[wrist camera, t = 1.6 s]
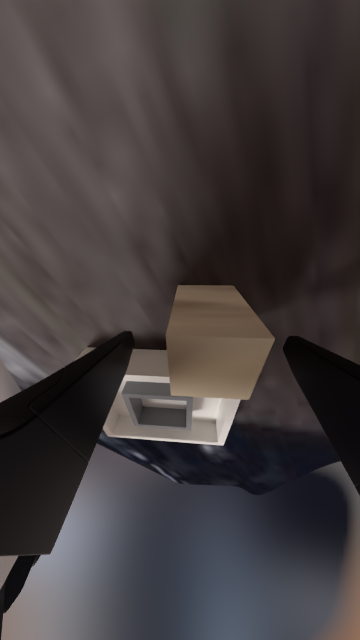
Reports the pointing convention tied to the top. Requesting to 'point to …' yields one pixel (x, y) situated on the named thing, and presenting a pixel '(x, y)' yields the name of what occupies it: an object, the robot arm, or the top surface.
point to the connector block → (215, 343)
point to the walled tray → (164, 406)
